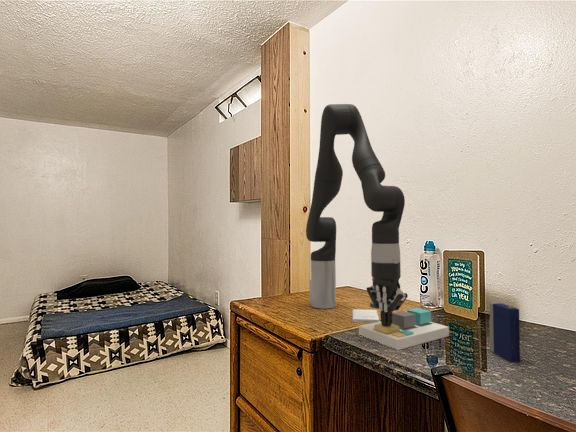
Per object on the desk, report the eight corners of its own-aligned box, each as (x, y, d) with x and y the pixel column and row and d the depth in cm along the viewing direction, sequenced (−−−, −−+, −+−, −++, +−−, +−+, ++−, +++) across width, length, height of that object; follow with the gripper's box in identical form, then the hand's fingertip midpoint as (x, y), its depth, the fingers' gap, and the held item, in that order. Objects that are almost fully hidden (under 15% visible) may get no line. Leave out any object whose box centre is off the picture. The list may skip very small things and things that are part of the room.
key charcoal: (391, 323, 100) (391, 313, 100) (402, 321, 103) (402, 310, 103) (404, 327, 97) (404, 316, 97) (415, 325, 99) (415, 314, 99)
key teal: (407, 320, 104) (407, 309, 104) (417, 318, 106) (417, 307, 106) (420, 324, 100) (420, 313, 100) (431, 321, 102) (430, 311, 102)
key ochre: (374, 335, 97) (374, 324, 97) (386, 333, 99) (386, 322, 99) (387, 340, 93) (386, 328, 93) (399, 337, 95) (399, 326, 96)
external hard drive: (376, 314, 125) (379, 324, 112) (352, 313, 126) (352, 323, 114) (376, 309, 125) (379, 319, 112) (352, 309, 126) (352, 318, 114)
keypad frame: (358, 335, 100) (358, 324, 100) (408, 323, 111) (407, 314, 111) (398, 350, 88) (397, 337, 88) (449, 336, 99) (448, 325, 99)
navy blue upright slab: (520, 362, 80) (519, 307, 80) (510, 362, 80) (509, 308, 80) (498, 350, 88) (497, 300, 88) (489, 350, 87) (488, 301, 88)
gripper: (358, 259, 100) (358, 321, 100) (394, 263, 89) (395, 334, 89) (377, 257, 104) (378, 317, 104) (415, 261, 93) (416, 329, 93)
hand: (386, 325), depth 96 cm, fingers closed
